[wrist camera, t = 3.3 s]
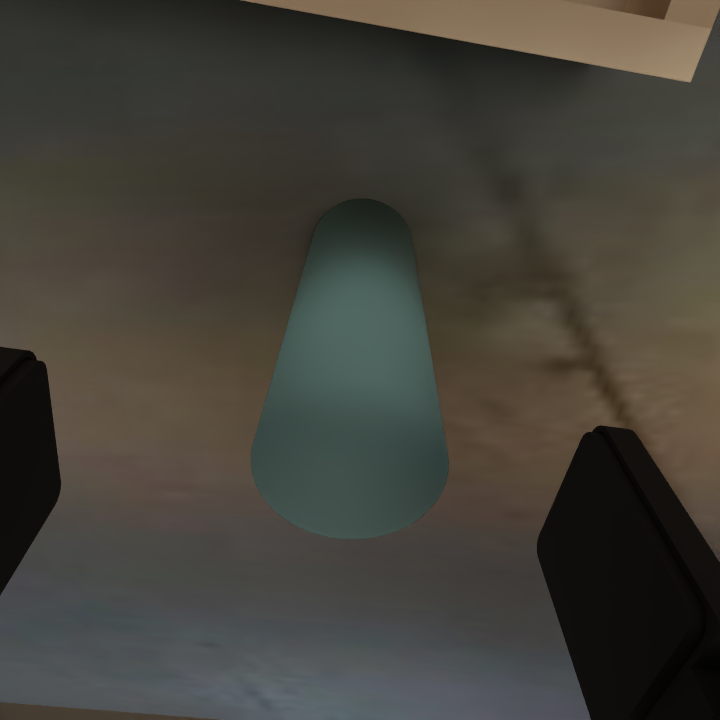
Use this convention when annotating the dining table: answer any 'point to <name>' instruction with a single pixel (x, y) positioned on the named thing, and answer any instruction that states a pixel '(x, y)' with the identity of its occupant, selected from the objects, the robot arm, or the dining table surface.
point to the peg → (354, 386)
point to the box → (550, 27)
